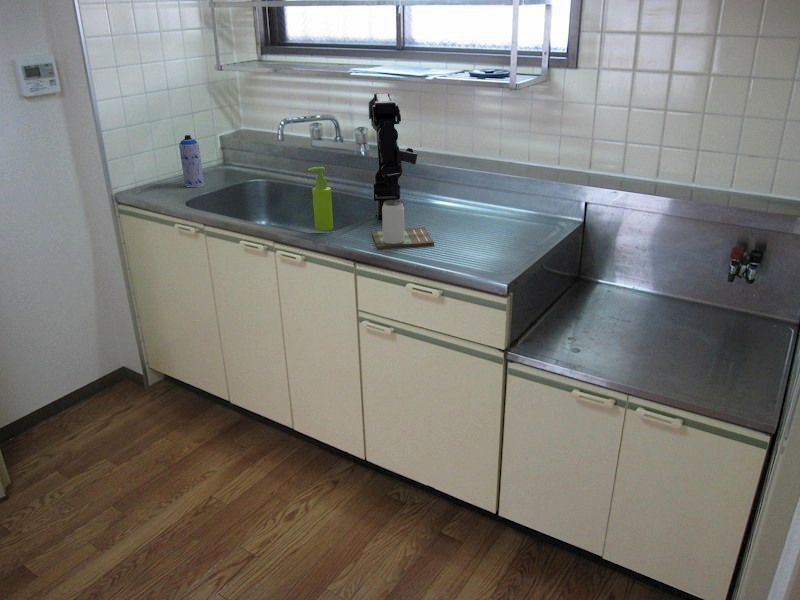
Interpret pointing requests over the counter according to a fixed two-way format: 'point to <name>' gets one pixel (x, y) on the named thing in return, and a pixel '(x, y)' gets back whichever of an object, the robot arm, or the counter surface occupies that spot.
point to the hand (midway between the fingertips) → (396, 194)
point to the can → (393, 222)
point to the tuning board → (405, 239)
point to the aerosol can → (191, 162)
